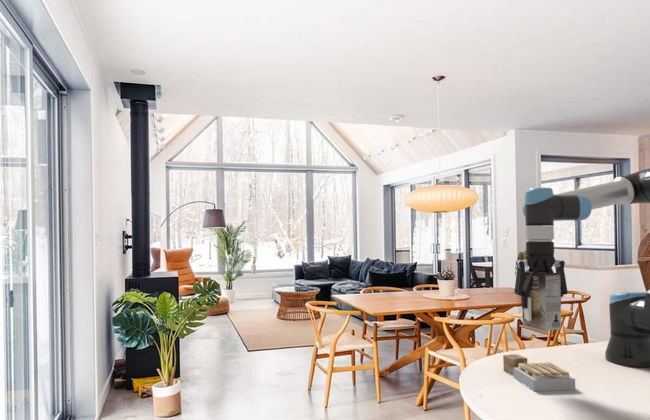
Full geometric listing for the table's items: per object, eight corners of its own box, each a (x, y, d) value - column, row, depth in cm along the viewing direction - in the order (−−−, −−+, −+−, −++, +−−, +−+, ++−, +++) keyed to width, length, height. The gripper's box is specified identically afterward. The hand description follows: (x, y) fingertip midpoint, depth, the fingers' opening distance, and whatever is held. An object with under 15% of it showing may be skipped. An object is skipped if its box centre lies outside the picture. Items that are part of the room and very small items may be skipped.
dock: (551, 376, 146) (551, 366, 146) (575, 389, 134) (575, 378, 134) (513, 377, 145) (513, 367, 145) (533, 391, 133) (533, 380, 133)
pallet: (550, 367, 145) (550, 362, 145) (569, 377, 135) (569, 372, 135) (518, 368, 144) (518, 363, 144) (535, 378, 134) (534, 373, 134)
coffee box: (521, 325, 143) (520, 271, 144) (537, 323, 146) (536, 270, 146) (545, 331, 135) (544, 273, 135) (562, 329, 137) (561, 272, 138)
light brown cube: (517, 369, 153) (517, 354, 153) (527, 374, 148) (527, 358, 149) (503, 371, 152) (503, 355, 152) (513, 375, 147) (513, 359, 147)
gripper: (565, 240, 146) (567, 316, 145) (500, 240, 144) (501, 317, 143) (580, 240, 138) (582, 321, 137) (511, 241, 137) (513, 322, 136)
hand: (541, 319), depth 140 cm, fingers closed on coffee box, 7 cm apart
